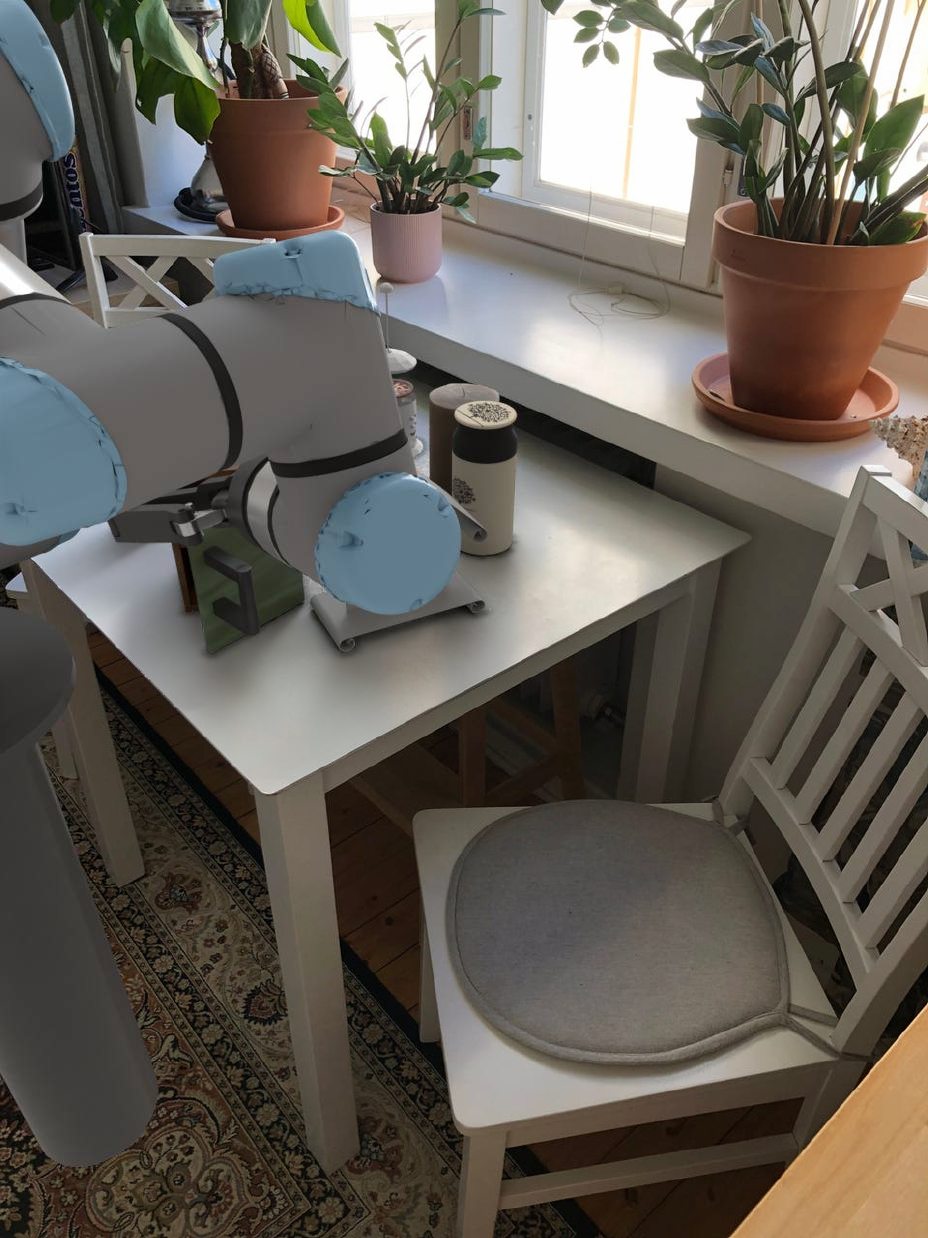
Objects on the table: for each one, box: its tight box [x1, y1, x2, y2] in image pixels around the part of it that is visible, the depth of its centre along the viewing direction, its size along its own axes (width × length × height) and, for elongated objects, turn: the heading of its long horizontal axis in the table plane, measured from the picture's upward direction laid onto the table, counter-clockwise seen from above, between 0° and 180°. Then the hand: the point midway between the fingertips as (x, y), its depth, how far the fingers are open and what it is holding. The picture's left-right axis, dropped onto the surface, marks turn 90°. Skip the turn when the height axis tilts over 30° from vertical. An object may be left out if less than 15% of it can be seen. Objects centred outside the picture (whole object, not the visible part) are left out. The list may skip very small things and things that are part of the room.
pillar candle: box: [428, 383, 500, 497], centre depth 130 cm, size 10×10×15 cm
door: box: [187, 526, 306, 654], centre depth 99 cm, size 7×14×17 cm, turn 139°
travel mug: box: [452, 401, 519, 556], centre depth 116 cm, size 8×8×18 cm
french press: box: [379, 282, 424, 458], centre depth 137 cm, size 10×12×25 cm
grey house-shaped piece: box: [309, 468, 488, 653], centre depth 103 cm, size 18×10×20 cm, turn 117°
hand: (210, 466), depth 78 cm, fingers open, 13 cm apart
